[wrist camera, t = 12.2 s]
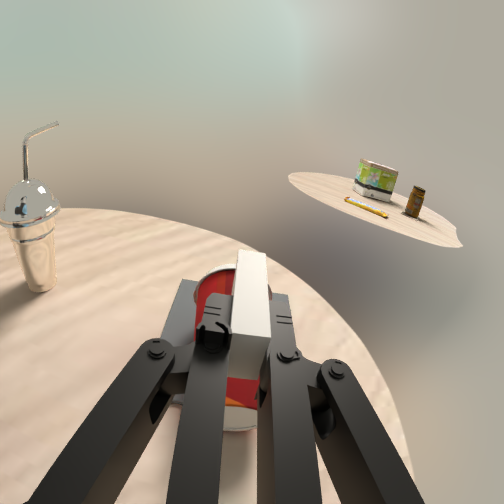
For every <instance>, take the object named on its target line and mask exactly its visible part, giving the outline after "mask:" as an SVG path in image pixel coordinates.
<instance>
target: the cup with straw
mask: <svg viewBox="0 0 504 504" xmlns="http://www.w3.org/2000/svg"><path fill="white" fill-rule="evenodd" d="M57 126H59V123H58V121H56V122H53V123H51V124H48V125H46V126H44V127H41V128H39V129H36V130H34V131H32V132H29V133H28V134H27V135H26V136H25V138H24V140H23V177H24V180H22V181H20V182H18V183H16V184H15V185H14V186H13V187H12V188H11V189H10V190H9V192H8V194H7V196H6V199H5V203H4V209H3V210H2V211H1V213H0V224H1V225H2V226H3V227H5V228H6V229H7V233H8V235H9V237H10V240H11V242H12V243H13V246H14V250H15V253H16V256H17V258H18V261H19V264H20V267H21V270H22V272H23V275H24V277H25V280H26V282H27V283H28V287H29V289H30V290H31V291H33V292H37V293H40V292H45V291H48V290H50V289H51V288H53V287H54V286H55V285H56V283H57V277H56V262H55V247H54V230H55V216H56V215H57V214H58V213H59V211H60V205H59V201H58V199H56V198H54V197H53V195H52V193H51V191H50V189H49V187H48V186H47V185H46V184H45V183H44V182H42V181H40V180H37V179H29V173H28V141H29V139H30V138H32V137H34V136H36V135H38V134H40V133H43V132H45V131H47V130H50V129H52V128H54V127H57Z"/></svg>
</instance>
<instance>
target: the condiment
mask: <svg viewBox="0 0 504 504" xmlns="http://www.w3.org/2000/svg"><path fill="white" fill-rule="evenodd" d="M424 195H425V190H424V189H422V188H420V187H417V186H414V188H413V191H412V192H411V194H410V197H409V200H408V203H407V206H406V209H405V211H403V212H402V214H404V215H406V216H408V217H410V218H412V219H414V220H417V221H418V219H419V217H418V215H419V212H420V209H421V207H422V203H423V200H424Z"/></svg>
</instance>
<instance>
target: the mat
mask: <svg viewBox="0 0 504 504" xmlns="http://www.w3.org/2000/svg"><path fill="white" fill-rule="evenodd" d="M198 283H199V282H198V281H192V280H186V279H182V281H181V284H180V286H179V289H178V292H177V294H176V297H175V300H174V302H173V305H172V308H171V310H170V313H169V316H168V318H167V321H166V324H165V327H164V329H163V332H162V335H161V338H160V339H164V340H166V341H168V342H170V343H171V344H172V346H173V347H176V346H185V345H188V344H191V343H192V342H194V329H195V317H196V304H195V302H194V298H193V293H194V291H195V289H196V286H197V284H198ZM272 301H280V302H285V303H286V304H287V305H288V307H289V308H290V306H289V300H288V295H285V294H278V293H272ZM184 395H185V394H175V396H174V398H173V400H172V402H173V403H178V404H183V400H184Z"/></svg>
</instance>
